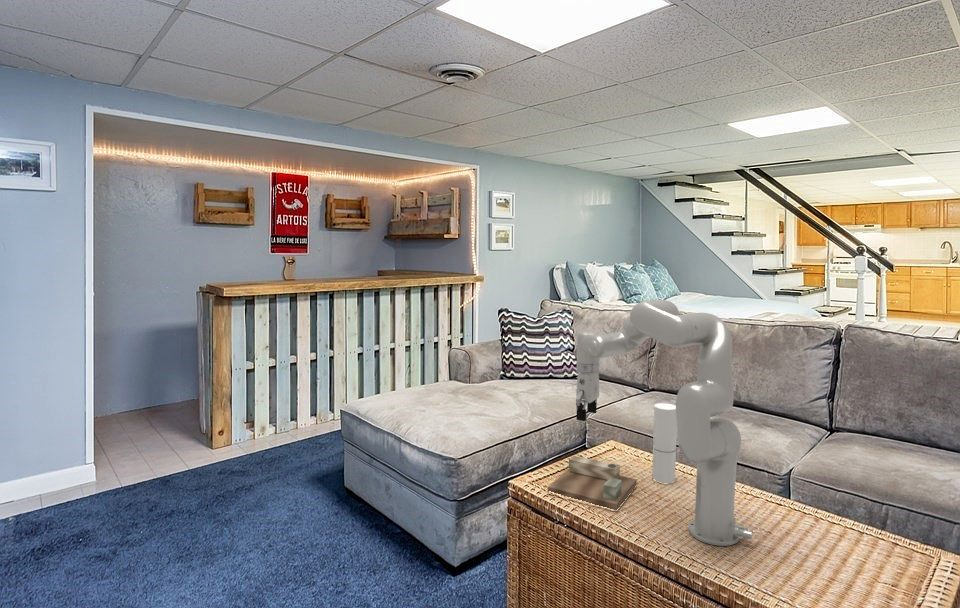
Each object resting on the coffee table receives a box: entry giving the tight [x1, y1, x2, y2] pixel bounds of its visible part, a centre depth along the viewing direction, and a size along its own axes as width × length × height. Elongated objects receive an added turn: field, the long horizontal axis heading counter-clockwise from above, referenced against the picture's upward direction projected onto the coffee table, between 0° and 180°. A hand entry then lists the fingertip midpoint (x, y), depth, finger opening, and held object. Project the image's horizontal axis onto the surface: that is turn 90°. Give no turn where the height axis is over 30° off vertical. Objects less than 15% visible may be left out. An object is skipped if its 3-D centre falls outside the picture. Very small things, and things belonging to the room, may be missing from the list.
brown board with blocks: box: [547, 468, 638, 510], centre depth 172 cm, size 22×20×6 cm
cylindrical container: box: [651, 402, 677, 483], centre depth 179 cm, size 7×7×25 cm
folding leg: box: [568, 455, 621, 480], centre depth 178 cm, size 16×4×4 cm, turn 58°
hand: (586, 416), depth 186 cm, fingers open, 9 cm apart
